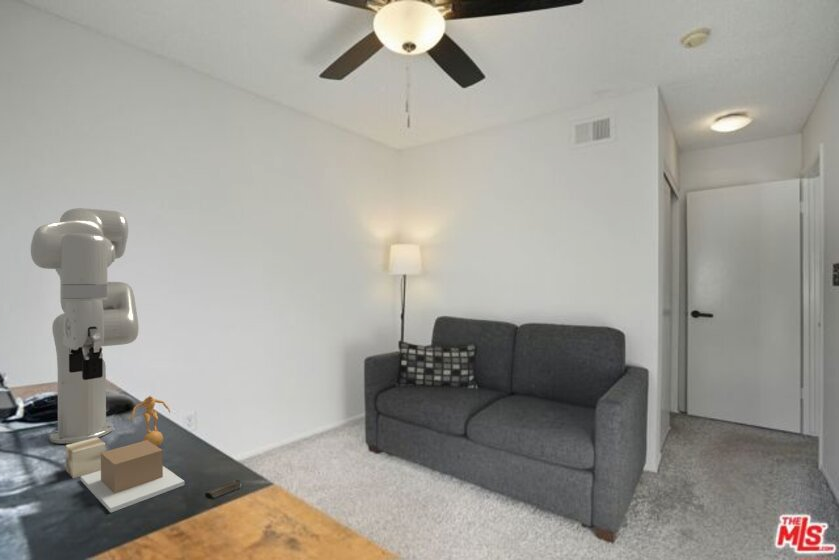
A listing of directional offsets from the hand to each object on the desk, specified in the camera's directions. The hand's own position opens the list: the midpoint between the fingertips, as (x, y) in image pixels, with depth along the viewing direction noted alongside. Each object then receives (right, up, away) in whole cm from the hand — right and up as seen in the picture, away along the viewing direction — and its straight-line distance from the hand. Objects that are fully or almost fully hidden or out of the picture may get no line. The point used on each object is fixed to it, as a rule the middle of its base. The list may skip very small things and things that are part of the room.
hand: (85, 374), depth 87 cm
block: (+33, -21, -8) cm, 40 cm away
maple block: (0, -20, 0) cm, 20 cm away
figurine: (+6, -20, +12) cm, 24 cm away
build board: (+13, -20, -5) cm, 25 cm away
